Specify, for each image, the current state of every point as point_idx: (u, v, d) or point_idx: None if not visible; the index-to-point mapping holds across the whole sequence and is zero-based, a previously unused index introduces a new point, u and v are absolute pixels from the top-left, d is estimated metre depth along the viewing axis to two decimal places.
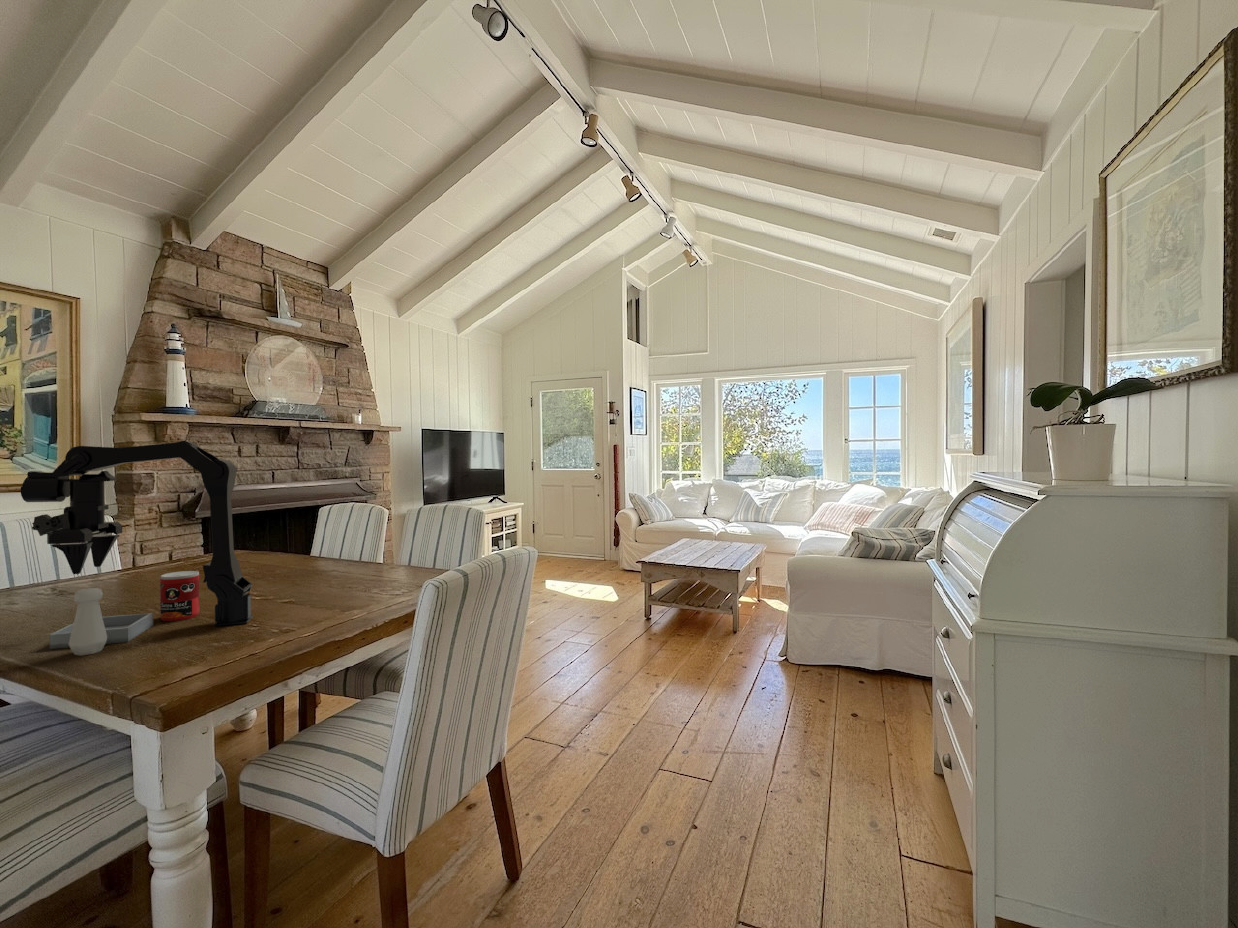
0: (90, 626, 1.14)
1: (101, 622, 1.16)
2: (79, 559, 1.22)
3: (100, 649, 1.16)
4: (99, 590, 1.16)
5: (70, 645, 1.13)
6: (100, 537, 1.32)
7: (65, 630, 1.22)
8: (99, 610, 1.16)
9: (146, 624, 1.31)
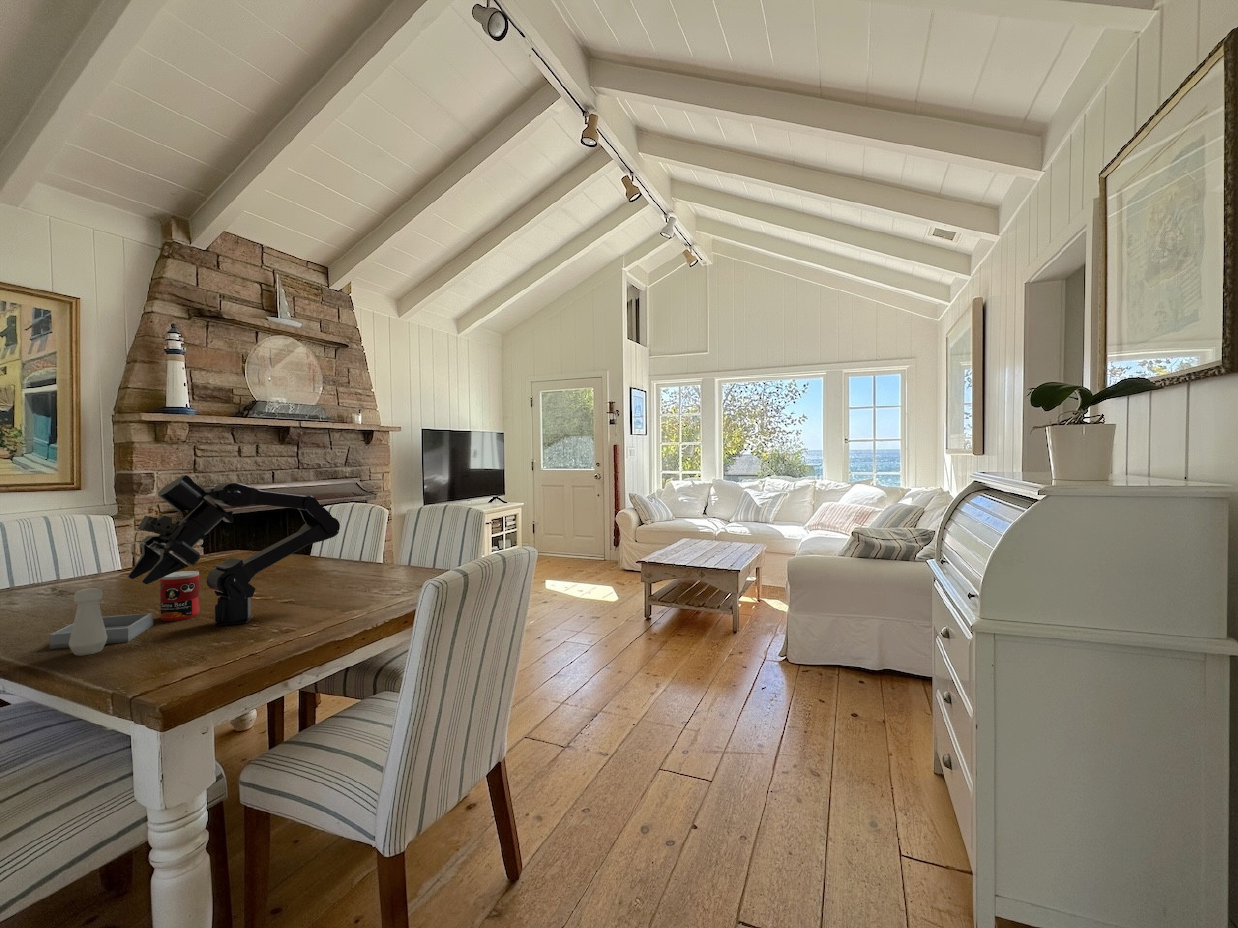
0: (90, 626, 1.14)
1: (101, 622, 1.16)
2: (163, 573, 1.21)
3: (100, 649, 1.16)
4: (99, 590, 1.16)
5: (70, 645, 1.13)
6: (156, 554, 1.29)
7: (65, 630, 1.22)
8: (99, 610, 1.16)
9: (146, 624, 1.31)
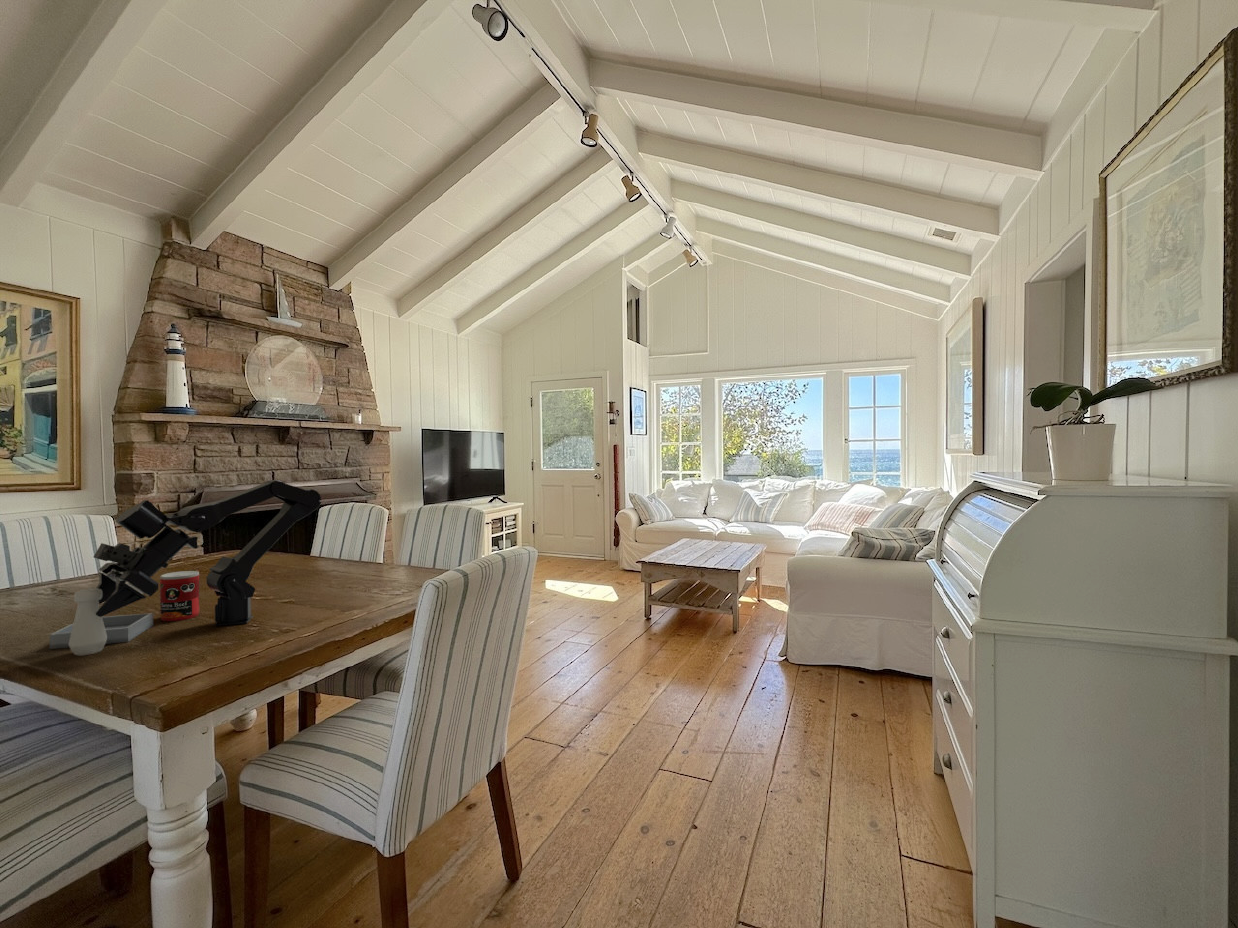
0: (90, 626, 1.14)
1: (101, 622, 1.16)
2: (119, 604, 1.15)
3: (100, 649, 1.16)
4: (99, 590, 1.16)
5: (70, 645, 1.13)
6: (115, 582, 1.23)
7: (65, 630, 1.22)
8: None
9: (146, 624, 1.31)
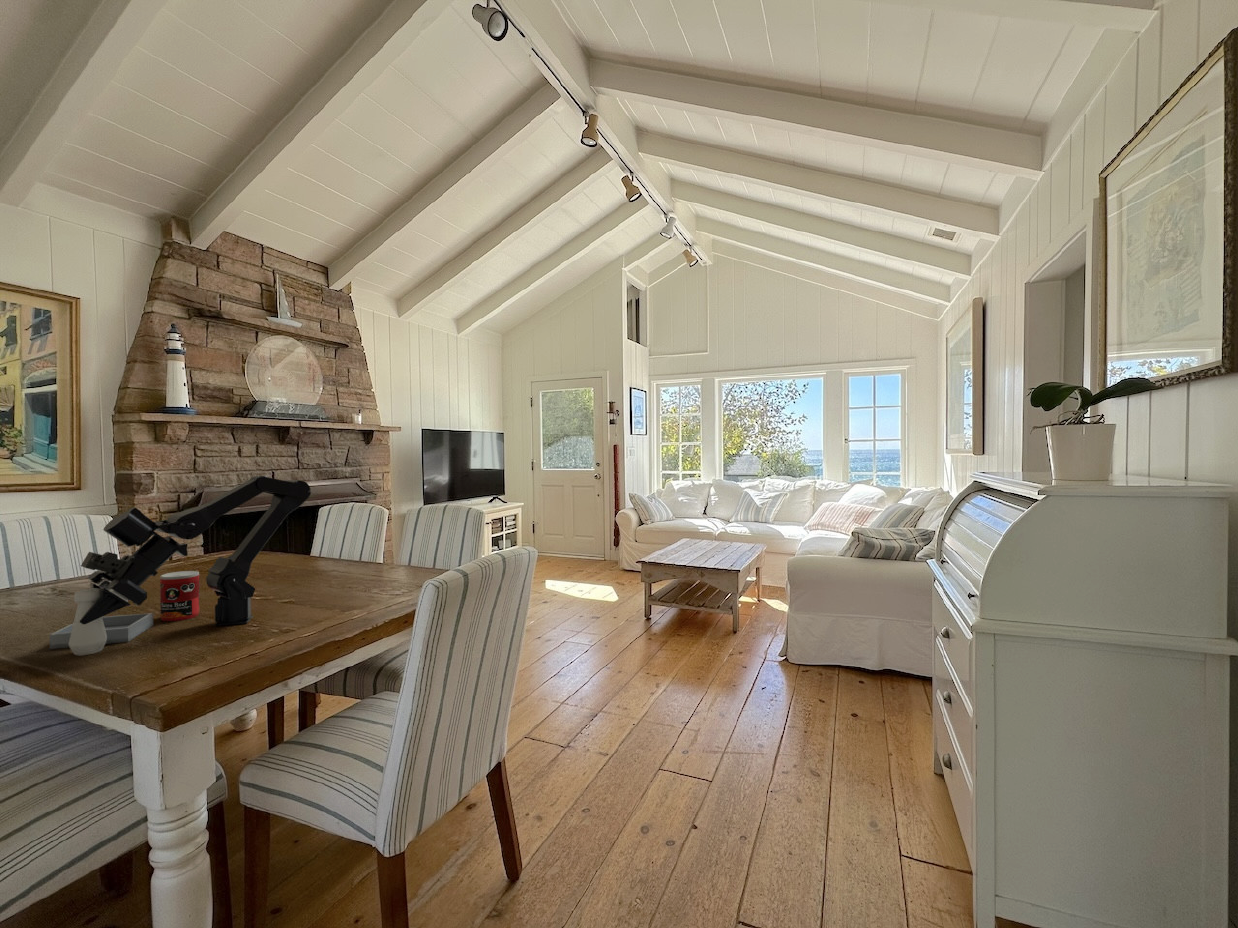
0: (90, 626, 1.14)
1: (101, 622, 1.16)
2: (103, 612, 1.15)
3: (100, 649, 1.16)
4: (99, 590, 1.16)
5: (70, 645, 1.13)
6: None
7: (65, 630, 1.22)
8: None
9: (146, 624, 1.31)
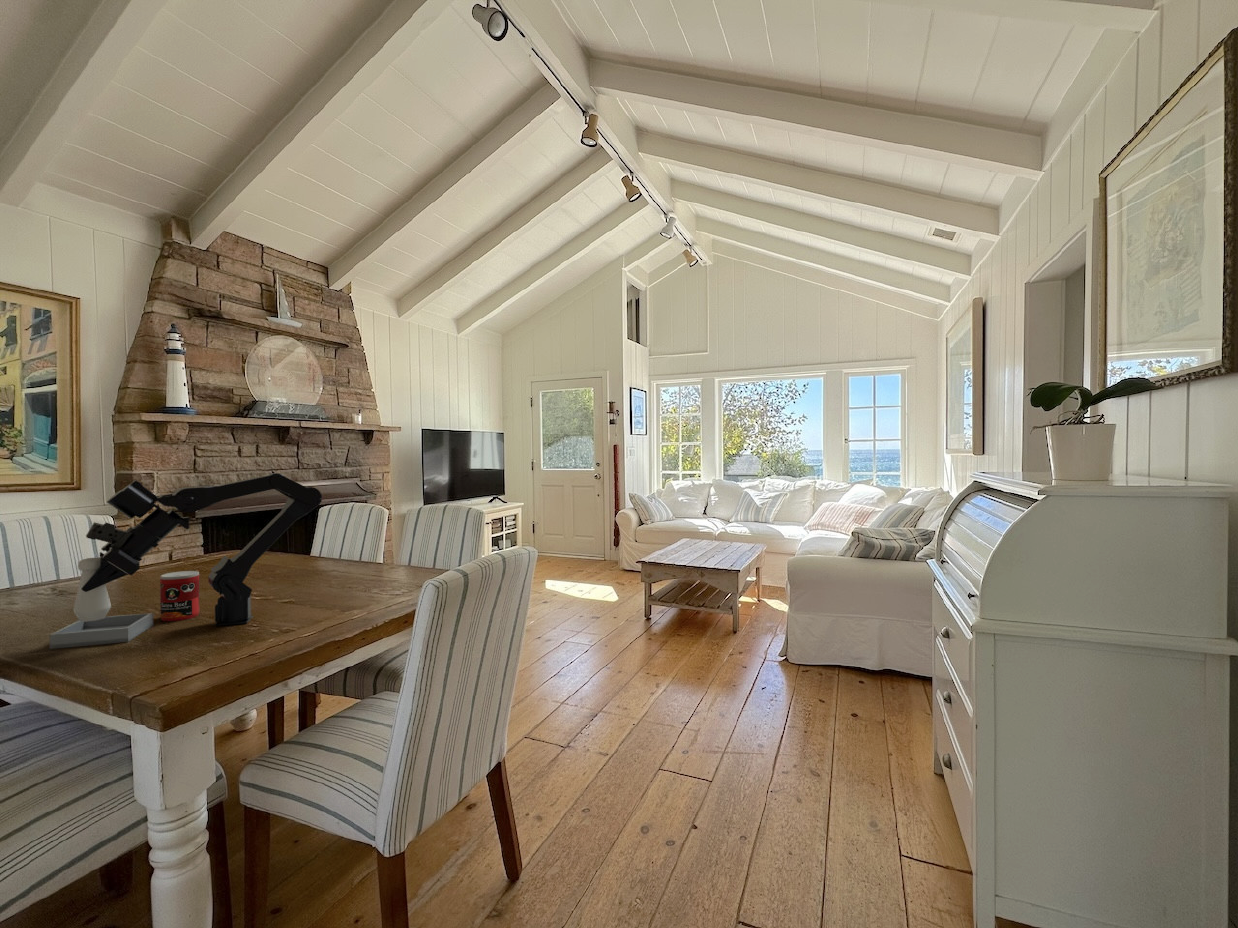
0: (91, 594, 1.18)
1: (103, 590, 1.20)
2: (103, 580, 1.19)
3: (102, 616, 1.20)
4: None
5: (74, 611, 1.18)
6: None
7: (65, 630, 1.22)
8: None
9: (146, 624, 1.31)
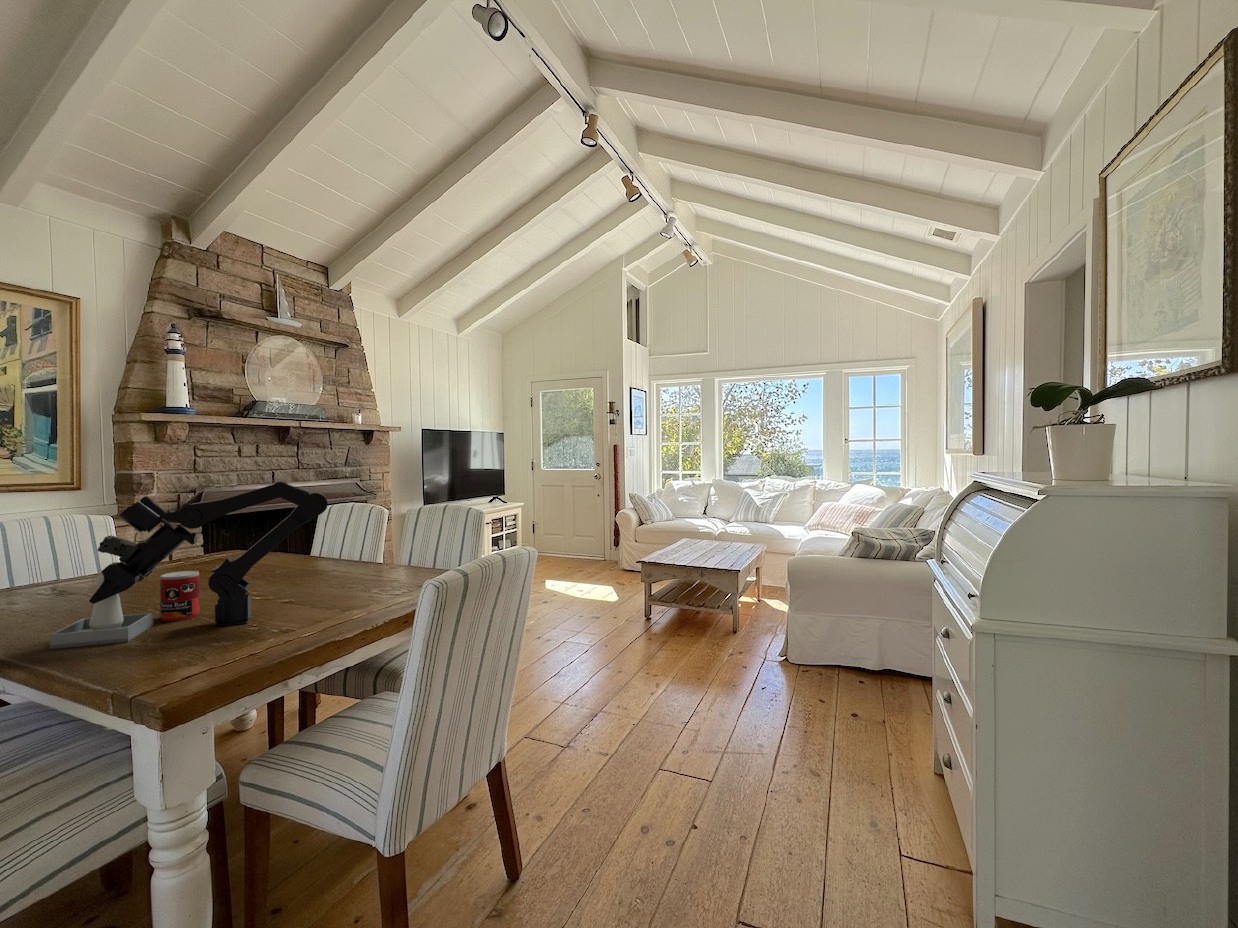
0: (102, 609, 1.24)
1: (115, 606, 1.26)
2: (107, 594, 1.23)
3: None
4: None
5: (89, 624, 1.24)
6: None
7: (65, 630, 1.22)
8: (114, 595, 1.26)
9: (146, 624, 1.31)
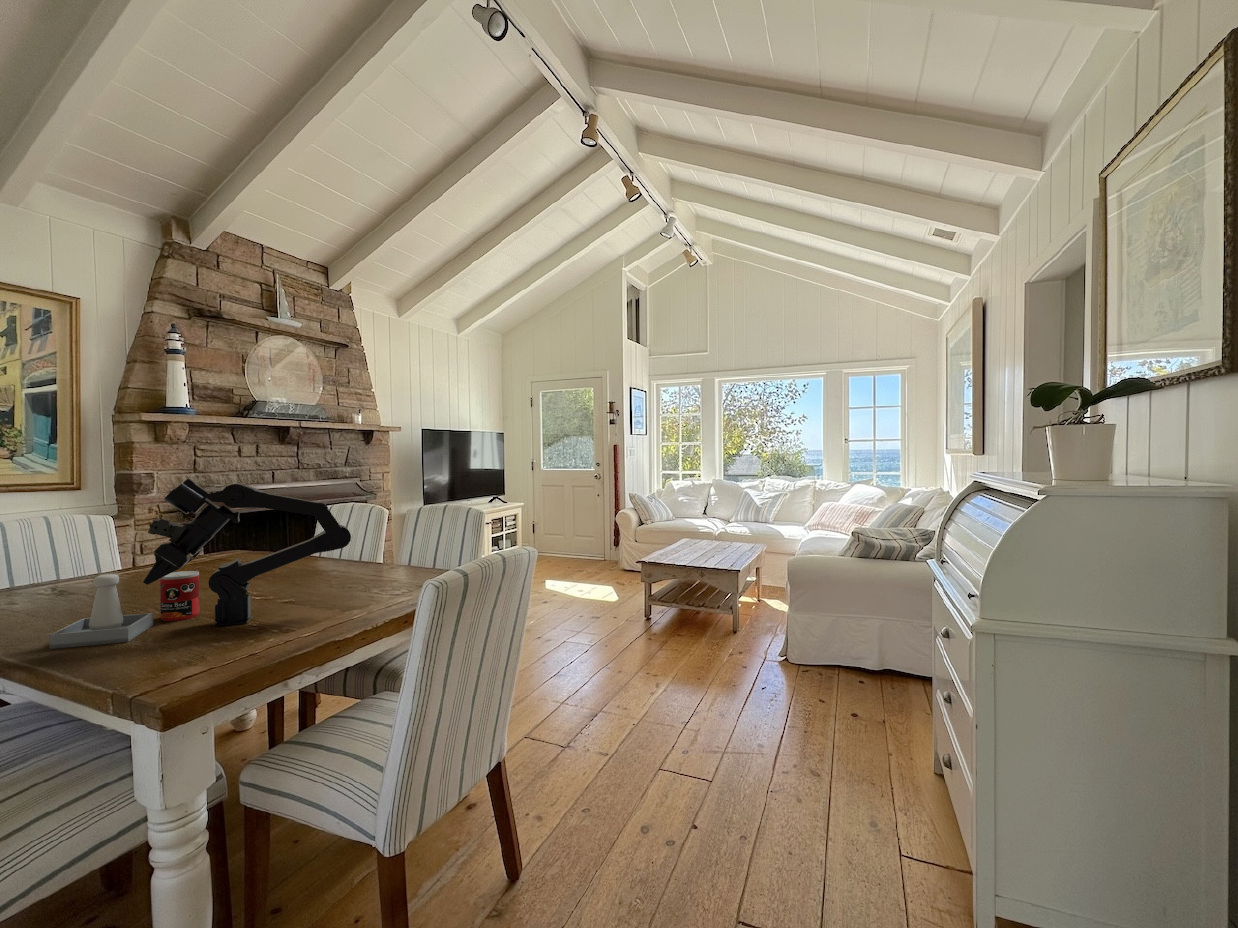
0: (102, 609, 1.24)
1: (114, 606, 1.26)
2: (160, 574, 1.26)
3: None
4: (113, 577, 1.26)
5: (89, 625, 1.24)
6: None
7: (65, 630, 1.22)
8: (113, 595, 1.26)
9: (146, 624, 1.31)
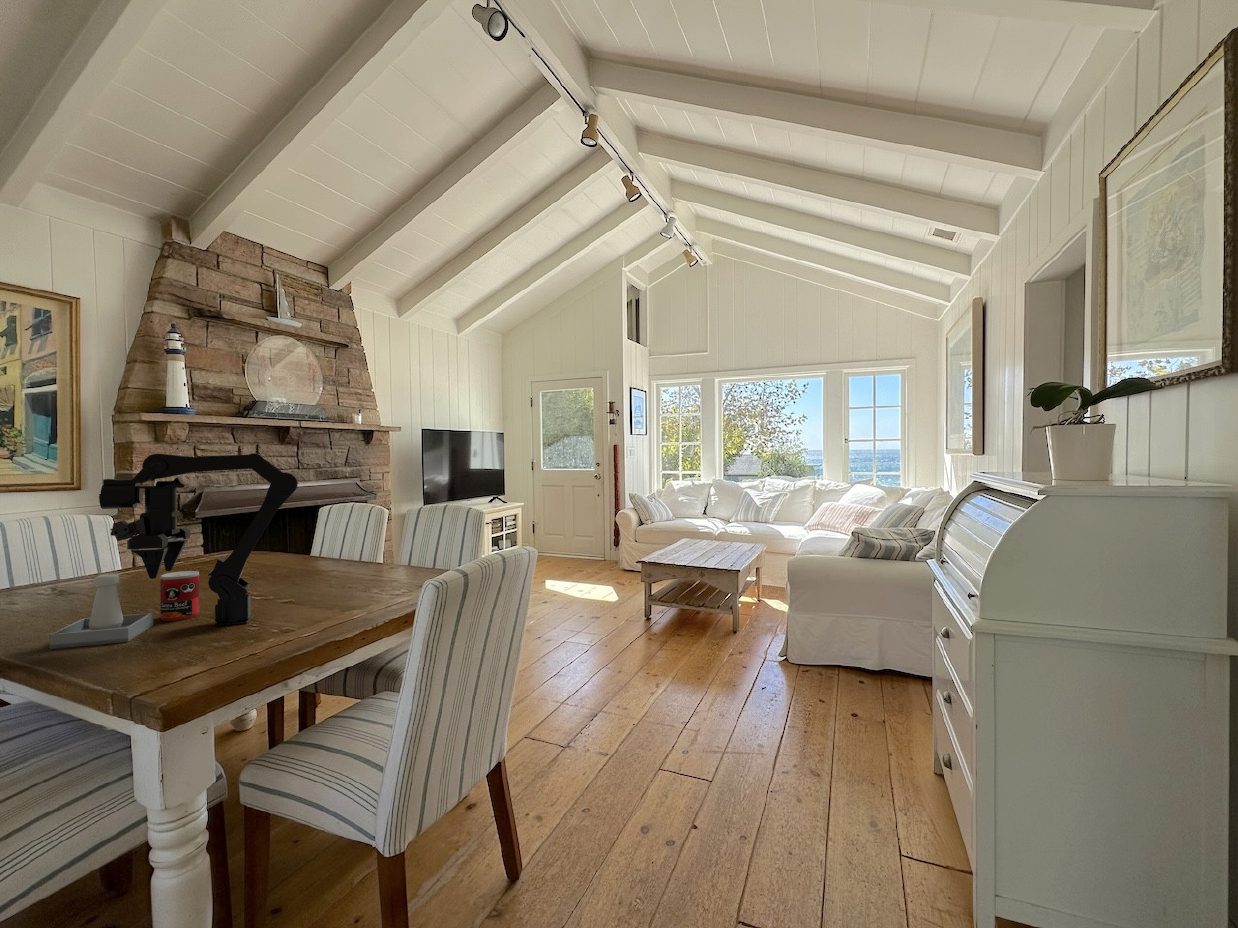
0: (102, 609, 1.24)
1: (114, 606, 1.26)
2: (155, 564, 1.26)
3: None
4: (113, 577, 1.26)
5: (89, 625, 1.24)
6: (171, 542, 1.36)
7: (65, 630, 1.22)
8: (113, 595, 1.26)
9: (146, 624, 1.31)
